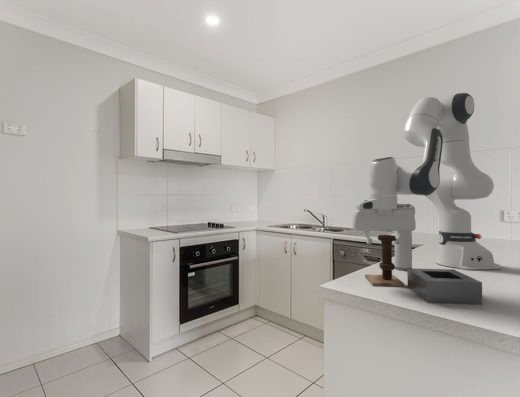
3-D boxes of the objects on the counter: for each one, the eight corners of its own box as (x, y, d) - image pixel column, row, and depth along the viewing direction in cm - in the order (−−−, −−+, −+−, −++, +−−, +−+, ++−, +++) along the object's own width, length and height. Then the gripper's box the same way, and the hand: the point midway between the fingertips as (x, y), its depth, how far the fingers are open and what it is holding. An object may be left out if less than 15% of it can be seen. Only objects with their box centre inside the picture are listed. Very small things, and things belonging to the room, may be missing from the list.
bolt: (397, 281, 95) (397, 236, 94) (382, 281, 95) (381, 236, 95) (391, 276, 100) (391, 234, 100) (377, 276, 101) (376, 234, 101)
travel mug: (390, 267, 118) (390, 219, 118) (405, 266, 119) (405, 219, 119) (399, 271, 112) (399, 220, 112) (415, 270, 112) (415, 220, 112)
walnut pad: (393, 278, 102) (393, 275, 102) (404, 286, 93) (404, 283, 93) (365, 277, 104) (365, 274, 104) (372, 285, 94) (372, 282, 94)
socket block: (453, 288, 91) (453, 269, 91) (482, 304, 77) (482, 282, 77) (407, 286, 92) (407, 268, 92) (427, 302, 79) (426, 280, 79)
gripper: (411, 203, 100) (411, 242, 100) (351, 203, 103) (351, 242, 103) (418, 204, 94) (419, 245, 94) (355, 204, 96) (355, 244, 96)
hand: (383, 243), depth 98 cm, fingers open, 8 cm apart
